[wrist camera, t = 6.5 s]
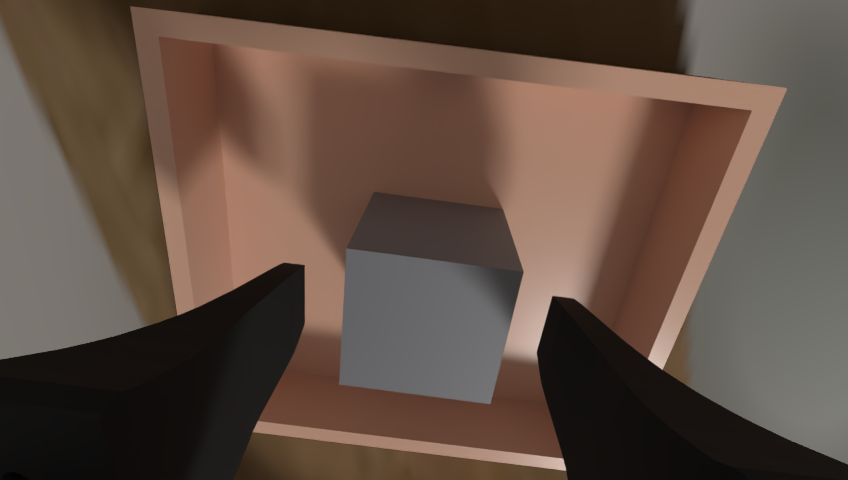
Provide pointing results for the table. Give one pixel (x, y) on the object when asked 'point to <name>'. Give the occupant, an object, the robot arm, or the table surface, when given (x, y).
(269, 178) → the terracotta bin
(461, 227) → the grey block
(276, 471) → the table surface
